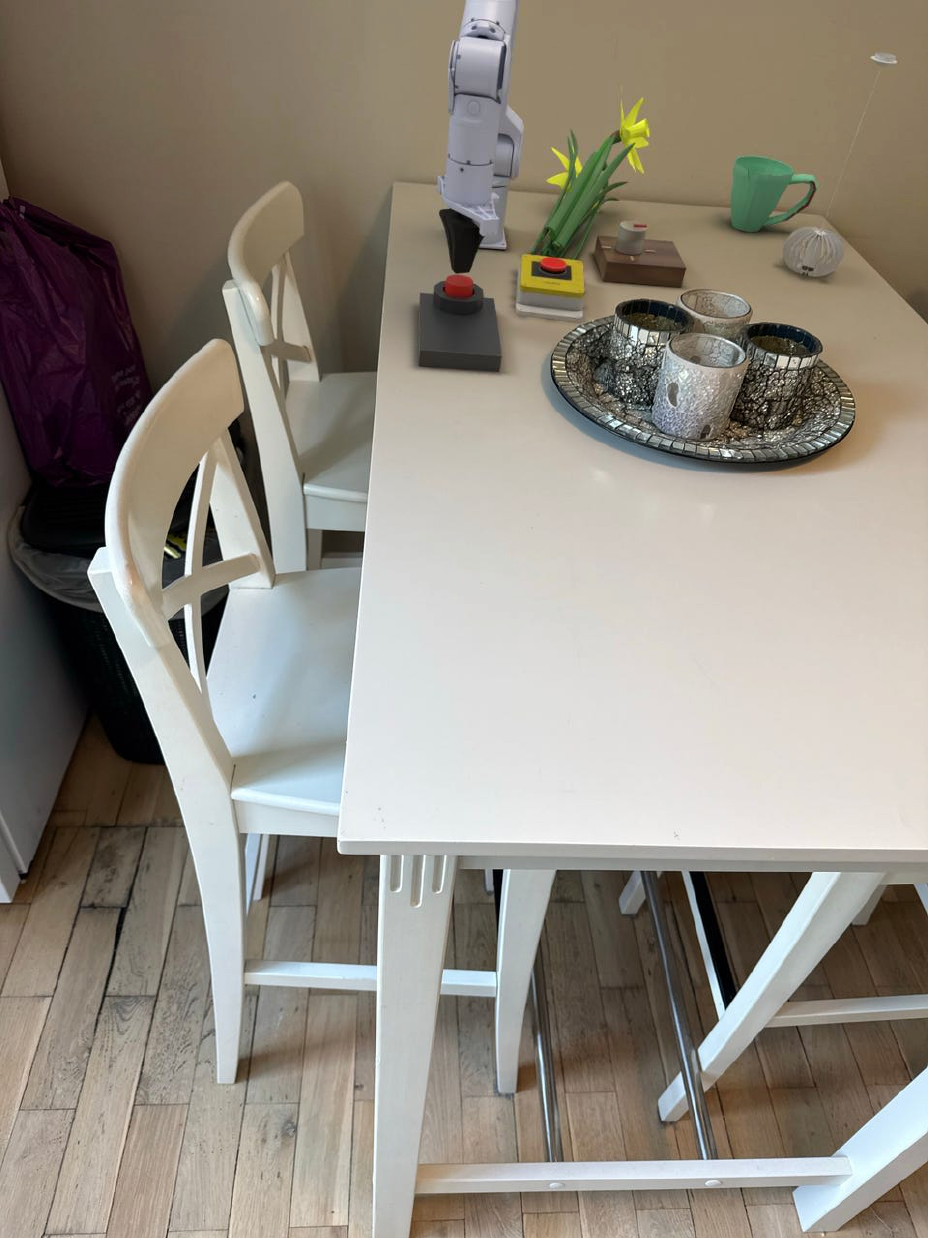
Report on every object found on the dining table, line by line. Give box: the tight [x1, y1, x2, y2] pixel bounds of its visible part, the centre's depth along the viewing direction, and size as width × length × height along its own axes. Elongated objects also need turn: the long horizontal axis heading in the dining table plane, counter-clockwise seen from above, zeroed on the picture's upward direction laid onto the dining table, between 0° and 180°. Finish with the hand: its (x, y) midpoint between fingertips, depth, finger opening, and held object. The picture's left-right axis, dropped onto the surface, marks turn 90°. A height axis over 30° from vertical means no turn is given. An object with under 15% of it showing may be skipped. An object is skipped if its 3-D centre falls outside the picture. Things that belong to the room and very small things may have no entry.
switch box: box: [418, 280, 503, 373], centre depth 113 cm, size 17×10×4 cm, turn 2°
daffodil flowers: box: [528, 85, 651, 260], centre depth 141 cm, size 17×15×35 cm
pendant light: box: [782, 52, 898, 278], centre depth 132 cm, size 9×9×30 cm
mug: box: [730, 155, 819, 233], centre depth 150 cm, size 15×10×10 cm
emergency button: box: [514, 253, 585, 323], centre depth 124 cm, size 9×4×15 cm
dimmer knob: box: [615, 220, 648, 255], centre depth 132 cm, size 4×4×4 cm
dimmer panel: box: [593, 234, 687, 288], centre depth 134 cm, size 10×12×3 cm
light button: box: [445, 274, 474, 298], centre depth 115 cm, size 4×4×2 cm
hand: (460, 270), depth 113 cm, fingers closed
